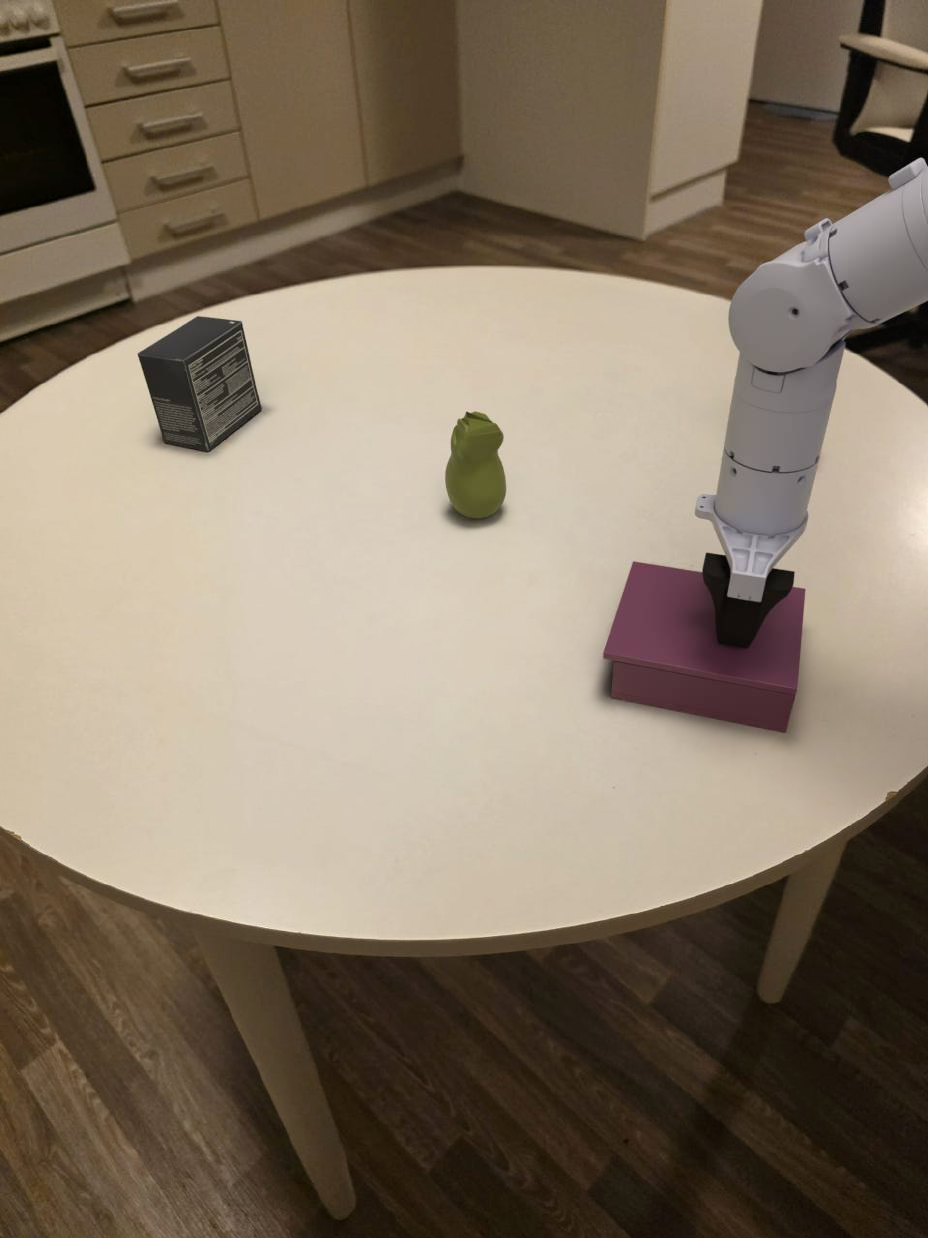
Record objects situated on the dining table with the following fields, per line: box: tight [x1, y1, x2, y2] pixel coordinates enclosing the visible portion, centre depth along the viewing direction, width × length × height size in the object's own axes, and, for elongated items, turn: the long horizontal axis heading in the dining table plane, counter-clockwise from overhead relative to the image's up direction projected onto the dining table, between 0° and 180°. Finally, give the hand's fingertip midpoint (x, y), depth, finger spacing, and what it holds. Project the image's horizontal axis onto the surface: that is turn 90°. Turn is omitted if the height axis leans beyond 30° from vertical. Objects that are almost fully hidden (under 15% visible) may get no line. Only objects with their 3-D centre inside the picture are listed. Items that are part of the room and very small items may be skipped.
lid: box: [602, 560, 806, 695], centre depth 64 cm, size 13×11×4 cm
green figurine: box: [444, 411, 507, 519], centre depth 82 cm, size 6×5×10 cm
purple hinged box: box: [610, 660, 797, 733], centre depth 67 cm, size 12×11×4 cm
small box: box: [137, 315, 263, 452], centre depth 97 cm, size 11×6×10 cm, turn 156°
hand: (737, 618), depth 64 cm, fingers closed on lid, 5 cm apart
